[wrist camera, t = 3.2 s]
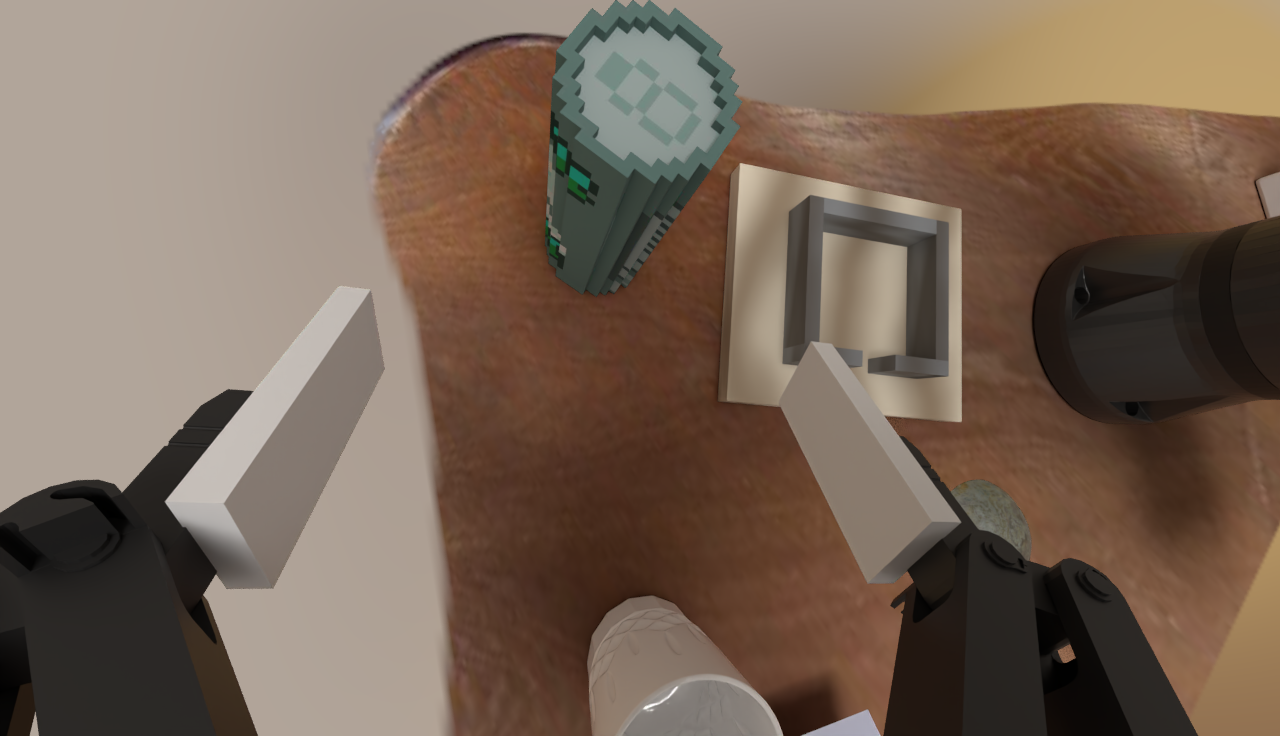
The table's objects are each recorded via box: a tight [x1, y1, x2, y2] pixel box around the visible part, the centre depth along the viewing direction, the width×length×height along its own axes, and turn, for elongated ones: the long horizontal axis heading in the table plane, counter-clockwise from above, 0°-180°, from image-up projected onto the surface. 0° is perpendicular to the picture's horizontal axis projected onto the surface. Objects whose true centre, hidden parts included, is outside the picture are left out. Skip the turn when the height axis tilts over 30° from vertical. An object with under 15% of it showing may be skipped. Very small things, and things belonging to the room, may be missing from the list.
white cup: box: [587, 595, 783, 736], centre depth 23 cm, size 8×8×10 cm
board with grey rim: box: [718, 163, 962, 422], centre depth 31 cm, size 18×16×4 cm
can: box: [545, 0, 742, 297], centre depth 22 cm, size 6×6×15 cm
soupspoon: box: [951, 480, 1031, 561], centre depth 33 cm, size 22×3×7 cm
